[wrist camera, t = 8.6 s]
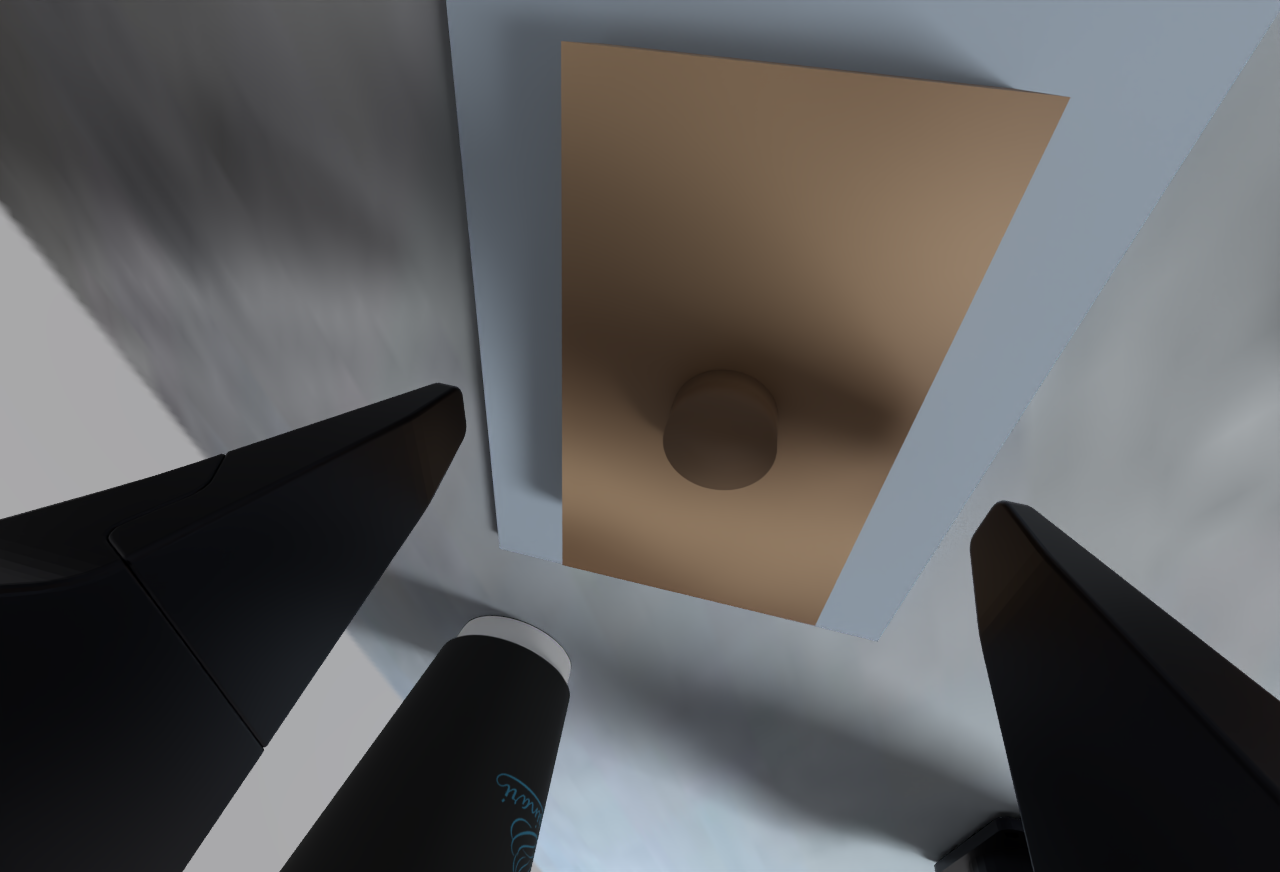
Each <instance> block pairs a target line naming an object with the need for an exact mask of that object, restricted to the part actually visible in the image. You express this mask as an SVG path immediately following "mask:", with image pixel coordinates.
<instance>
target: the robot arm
mask: <svg viewBox="0 0 1280 872" xmlns="http://www.w3.org/2000/svg"><path fill="white" fill-rule="evenodd" d="M465 433H466V418H465V410H464V402H463V395H462V392H461V390H460V389H459V388H458V387H456V386H452V385H447V384H442V383H434V384H431V385H428V386H425V387H422V388H419V389H416V390H413V391H410V392H407V393H404V394H401V395H398V396H395V397H392V398H389V399H386V400H383V401H380V402H377V403H374V404H371V405H368V406H365V407H362V408H359V409H356V410H353V411H350V412H347V413H344V414H341V415H338V416H335V417H332V418H329V419H326V420H323V421H320V422H317V423H314V424H311V425H308V426H305V427H302V428H299V429H296V430H293V431H290V432H287V433H284V434H281V435H278V436H275V437H272V438H269V439H266V440H263V441H260V442H257V443H254V444H251V445H247V446H244V447H241V448H238V449H235V450H232V451H229V452H228V453H227V454H226V455H224V454H220V455H217V456H214V457H211V458H208V459H205V460H202V461H199V462H196V463H193V464H190V465H187V466H184V467H180V468H177V469H174V470H171V471H168V472H165V473H161V474H158V475H155V476H152V477H149V478H145V479H142V480H138V481H135V482H131V483H128V484H124V485H121V486H118V487H114V488H111V489H107V490H104V491H100V492H96V493H93V494H89V495H86V496H83V497H79V498H75V499H71V500H68V501H64V502H61V503H57V504H54V505H50V506H47V507H43V508H39V509H36V510H32V511H29V512H25V513H21V514H18V515H14V516H11V517H7V518H4V519H0V872H182V871H183V870H184V869H185V867H186V866H187V864H188V863H189V861H190V860H191V858H192V856H193V855H194V854H195V852H196V851H197V849H198V848H199V846H200V845H201V843H202V842H203V840H204V838H205V837H206V836H207V835H208V833H209V832H210V830H211V828H212V827H213V825H214V824H215V823H216V821H217V820H218V818H219V817H220V815H221V814H222V812H223V811H224V809H225V808H226V806H227V805H228V803H229V802H230V800H231V799H232V797H233V796H234V794H235V793H236V792H237V790H238V788H239V787H240V786H241V784H242V782H243V781H244V780H245V778H246V777H247V775H248V774H249V772H250V771H251V769H252V768H253V766H254V765H255V763H256V762H257V760H258V759H259V757H260V756H261V754H262V753H263V751H264V749H263V747H266V746H267V745H268V743H269V742H270V740H271V739H272V737H273V736H274V734H275V733H276V731H277V730H278V728H279V727H280V725H281V724H282V723H283V721H284V720H285V718H286V717H287V715H288V714H289V712H290V711H291V709H292V708H293V706H294V705H295V703H296V702H297V700H298V699H299V697H300V696H301V694H302V693H303V691H304V690H305V688H306V687H307V685H308V684H309V682H310V681H311V680H312V678H313V676H314V675H315V673H316V672H317V671H318V669H319V668H320V666H321V665H322V663H323V662H324V660H325V659H326V657H327V656H328V654H329V653H330V651H331V650H332V648H333V647H334V645H335V644H336V642H337V641H338V640H339V638H340V637H341V635H342V634H343V632H344V631H345V629H346V628H347V626H348V625H349V623H350V622H351V620H352V619H353V617H354V616H355V614H356V613H357V611H358V610H359V608H360V607H361V605H362V604H363V602H364V601H365V599H366V598H367V596H368V595H369V594H370V592H371V591H372V589H373V588H374V586H375V585H376V583H377V582H378V580H379V579H380V577H381V576H382V574H383V573H384V571H385V570H386V568H387V567H388V565H389V564H390V562H391V561H392V559H393V558H394V556H395V555H396V553H397V552H398V550H399V549H400V548H401V546H402V545H403V543H404V542H405V540H406V539H407V537H408V536H409V534H410V533H411V531H412V530H413V528H414V527H415V525H416V524H417V522H418V521H419V519H420V518H421V516H422V515H423V513H424V512H425V510H426V509H427V507H428V505H429V504H430V502H431V500H432V498H433V497H434V495H435V493H436V491H437V489H438V487H439V485H440V483H441V481H442V479H443V477H444V476H445V474H446V472H447V470H448V468H449V466H450V464H451V462H452V460H453V458H454V456H455V454H456V452H457V450H458V448H459V447H460V445H461V443H462V441H463V439H464V436H465ZM970 556H971V566H972V575H973V585H974V594H975V603H976V613H977V622H978V629H979V636H980V641H981V646H982V651H983V655H984V660H985V664H986V668H987V672H988V677H989V681H990V685H991V690H992V694H993V698H994V703H995V707H996V711H997V716H998V720H999V724H1000V729H1001V733H1002V737H1003V741H1004V746H1005V750H1006V754H1007V759H1008V763H1009V767H1010V772H1011V776H1012V780H1013V785H1014V789H1015V793H1016V798H1017V802H1018V806H1019V811H1020V815H1021V819H1022V820H1019V819H1016V818H1011V817H1001V818H997V819H995V820H994V821H992V822H991V823H990V824H988V825H987V826H986V827H984V828H983V829H981V830H980V831H979V832H977V833H976V834H975V835H973V836H972V837H971V838H969V839H968V840H967V841H965V842H964V843H963V844H961V845H960V846H959V847H957V848H956V849H954V850H953V851H952V852H950V853H949V854H948V855H946V856H945V857H944V858H942V859H941V860H940V861H938V862H937V863H936V864H935V865H934V867H935V872H1280V701H1279V700H1278V699H1277V698H1275V697H1274V696H1273V695H1271V694H1270V693H1269V692H1268V691H1266V690H1265V689H1264V688H1262V687H1261V686H1260V685H1259V684H1257V683H1256V682H1255V681H1253V680H1252V679H1251V678H1250V677H1248V676H1247V675H1246V674H1245V673H1243V672H1242V671H1241V670H1239V669H1238V668H1237V667H1236V666H1234V665H1233V664H1232V663H1230V662H1229V661H1228V660H1227V659H1225V658H1224V657H1223V656H1221V655H1220V654H1219V653H1218V652H1216V651H1215V650H1214V649H1212V648H1211V647H1210V646H1209V645H1207V644H1206V643H1205V642H1204V641H1202V640H1201V639H1200V638H1198V637H1197V636H1196V635H1195V634H1193V633H1192V632H1191V631H1189V630H1188V629H1187V628H1186V627H1184V626H1183V625H1182V624H1181V623H1179V622H1178V621H1177V620H1175V619H1174V618H1173V617H1172V616H1170V615H1169V614H1168V613H1166V612H1165V611H1164V610H1163V609H1161V608H1160V607H1159V606H1157V605H1156V604H1155V603H1154V602H1152V601H1151V600H1150V599H1149V598H1147V597H1146V596H1145V595H1143V594H1142V593H1141V592H1140V591H1138V590H1137V589H1136V588H1134V587H1133V586H1132V585H1131V584H1129V583H1128V582H1127V581H1126V580H1124V579H1123V578H1122V577H1120V576H1119V575H1118V574H1117V573H1115V572H1114V571H1113V570H1111V569H1110V568H1109V567H1108V566H1106V565H1105V564H1104V563H1102V562H1101V561H1100V560H1099V559H1097V558H1096V557H1095V556H1094V555H1092V554H1091V553H1090V552H1088V551H1087V550H1086V549H1085V548H1083V547H1082V546H1081V545H1079V544H1078V543H1077V542H1076V541H1074V540H1073V539H1072V538H1070V537H1069V536H1068V535H1067V534H1065V533H1064V532H1063V531H1062V530H1060V529H1059V528H1058V527H1056V526H1055V525H1054V524H1053V523H1051V522H1050V521H1049V520H1047V519H1046V518H1045V517H1044V516H1042V515H1041V514H1040V513H1039V512H1037V511H1036V510H1035V509H1033V508H1032V507H1030V506H1028V505H1024V504H1019V503H1014V502H1009V501H999V502H997V503H996V504H994V506H993V507H992V508H991V510H990V511H989V513H988V514H987V515H986V517H985V518H984V520H983V521H982V523H981V524H980V526H979V527H978V529H977V530H976V532H975V533H974V535H973V537H972V539H971V543H970Z"/></svg>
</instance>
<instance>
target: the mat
mask: <svg viewBox="0 0 1280 872" xmlns="http://www.w3.org/2000/svg"><path fill="white" fill-rule="evenodd" d="M446 6H447V16H448V26H449V37H450V47H451V57H452V67H453V77H454V88H455V98H456V108H457V118H458V129H459V139H460V149H461V159H462V169H463V180H464V190H465V200H466V210H467V221H468V231H469V241H470V251H471V261H472V272H473V282H474V292H475V302H476V313H477V323H478V333H479V343H480V353H481V364H482V374H483V384H484V394H485V405H486V415H487V425H488V435H489V445H490V456H491V466H492V476H493V486H494V497H495V507H496V517H497V527H498V537H499V548H500V549H503V550H507V551H511V552H516V553H520V554H524V555H528V556H532V557H536V558H540V559H544V560H548V561H552V562H556V563H560V564H562V212H561V41H569V42H587V43H603V44H612V45H621V46H630V47H639V48H648V49H657V50H667V51H676V52H685V53H694V54H703V55H712V56H721V57H730V58H739V59H749V60H758V61H767V62H776V63H785V64H794V65H803V66H812V67H821V68H831V69H840V70H849V71H858V72H867V73H876V74H885V75H894V76H903V77H913V78H922V79H931V80H940V81H949V82H958V83H967V84H976V85H985V86H995V87H1004V88H1013V89H1020V90H1026V91H1033V92H1040V93H1046V94H1053V95H1059V96H1066V97H1071V98H1070V100H1069V102H1068V104H1067V106H1066V108H1065V110H1064V112H1063V114H1062V116H1061V118H1060V120H1059V122H1058V125H1057V127H1056V129H1055V131H1054V133H1053V135H1052V137H1051V139H1050V141H1049V143H1048V145H1047V147H1046V149H1045V151H1044V154H1043V156H1042V158H1041V160H1040V162H1039V164H1038V166H1037V168H1036V170H1035V172H1034V174H1033V176H1032V178H1031V180H1030V182H1029V185H1028V187H1027V189H1026V191H1025V193H1024V195H1023V197H1022V199H1021V201H1020V203H1019V205H1018V207H1017V209H1016V211H1015V213H1014V216H1013V218H1012V220H1011V222H1010V224H1009V226H1008V228H1007V230H1006V232H1005V234H1004V236H1003V238H1002V240H1001V242H1000V244H999V247H998V249H997V251H996V253H995V255H994V257H993V259H992V261H991V263H990V265H989V267H988V269H987V271H986V273H985V275H984V278H983V280H982V282H981V284H980V286H979V288H978V290H977V292H976V294H975V296H974V298H973V300H972V302H971V304H970V306H969V309H968V311H967V313H966V315H965V317H964V319H963V321H962V323H961V325H960V327H959V329H958V331H957V333H956V335H955V338H954V340H953V342H952V344H951V346H950V348H949V350H948V352H947V354H946V356H945V358H944V360H943V362H942V364H941V366H940V369H939V371H938V373H937V375H936V377H935V379H934V381H933V383H932V385H931V387H930V389H929V391H928V393H927V395H926V397H925V400H924V402H923V404H922V406H921V408H920V410H919V412H918V414H917V416H916V418H915V420H914V422H913V424H912V426H911V428H910V431H909V433H908V435H907V437H906V439H905V441H904V443H903V445H902V447H901V449H900V451H899V453H898V455H897V457H896V459H895V462H894V464H893V466H892V468H891V470H890V472H889V474H888V476H887V478H886V480H885V482H884V484H883V486H882V488H881V490H880V493H879V495H878V497H877V499H876V501H875V503H874V505H873V507H872V509H871V511H870V513H869V515H868V517H867V519H866V521H865V524H864V526H863V528H862V530H861V532H860V534H859V536H858V538H857V540H856V542H855V544H854V546H853V548H852V550H851V553H850V555H849V557H848V559H847V561H846V563H845V565H844V567H843V569H842V571H841V573H840V575H839V577H838V579H837V581H836V584H835V586H834V588H833V590H832V592H831V594H830V596H829V598H828V600H827V602H826V604H825V606H824V608H823V610H822V612H821V615H820V617H819V619H818V621H817V623H816V625H815V626H816V627H820V628H825V629H829V630H833V631H837V632H841V633H845V634H849V635H853V636H857V637H861V638H865V639H869V640H873V641H877V642H878V640H879V638H880V637H881V635H882V634H883V632H884V631H885V629H886V627H887V626H888V624H889V623H890V621H891V620H892V618H893V616H894V615H895V613H896V612H897V610H898V609H899V607H900V605H901V604H902V602H903V601H904V599H905V598H906V596H907V594H908V593H909V591H910V590H911V588H912V587H913V585H914V583H915V582H916V580H917V579H918V577H919V576H920V574H921V573H922V571H923V569H924V568H925V566H926V565H927V563H928V562H929V560H930V558H931V557H932V555H933V554H934V552H935V551H936V549H937V547H938V546H939V544H940V543H941V541H942V540H943V538H944V536H945V535H946V533H947V532H948V530H949V529H950V527H951V525H952V524H953V522H954V521H955V519H956V518H957V516H958V514H959V513H960V511H961V510H962V508H963V507H964V505H965V504H966V502H967V500H968V499H969V497H970V496H971V494H972V493H973V491H974V489H975V488H976V486H977V485H978V483H979V482H980V480H981V478H982V477H983V475H984V474H985V472H986V471H987V469H988V467H989V466H990V464H991V463H992V461H993V460H994V458H995V456H996V455H997V453H998V452H999V450H1000V449H1001V447H1002V445H1003V444H1004V442H1005V441H1006V439H1007V438H1008V436H1009V435H1010V433H1011V431H1012V430H1013V428H1014V427H1015V425H1016V424H1017V422H1018V420H1019V419H1020V417H1021V416H1022V414H1023V413H1024V411H1025V409H1026V408H1027V406H1028V405H1029V403H1030V402H1031V400H1032V398H1033V397H1034V395H1035V394H1036V392H1037V391H1038V389H1039V387H1040V386H1041V384H1042V383H1043V381H1044V380H1045V378H1046V376H1047V375H1048V373H1049V372H1050V370H1051V369H1052V367H1053V366H1054V364H1055V362H1056V361H1057V359H1058V358H1059V356H1060V355H1061V353H1062V351H1063V350H1064V348H1065V347H1066V345H1067V344H1068V342H1069V340H1070V339H1071V337H1072V336H1073V334H1074V333H1075V331H1076V329H1077V328H1078V326H1079V325H1080V323H1081V322H1082V320H1083V318H1084V317H1085V315H1086V314H1087V312H1088V311H1089V309H1090V307H1091V306H1092V304H1093V303H1094V301H1095V300H1096V298H1097V297H1098V295H1099V293H1100V292H1101V290H1102V289H1103V287H1104V286H1105V284H1106V282H1107V281H1108V279H1109V278H1110V276H1111V275H1112V273H1113V271H1114V270H1115V268H1116V267H1117V265H1118V264H1119V262H1120V260H1121V259H1122V257H1123V256H1124V254H1125V253H1126V251H1127V249H1128V248H1129V246H1130V245H1131V243H1132V242H1133V240H1134V238H1135V237H1136V235H1137V234H1138V232H1139V231H1140V229H1141V228H1142V226H1143V224H1144V223H1145V221H1146V220H1147V218H1148V217H1149V215H1150V213H1151V212H1152V210H1153V209H1154V207H1155V206H1156V204H1157V202H1158V201H1159V199H1160V198H1161V196H1162V195H1163V193H1164V191H1165V190H1166V188H1167V187H1168V185H1169V184H1170V182H1171V180H1172V179H1173V177H1174V176H1175V174H1176V173H1177V171H1178V169H1179V168H1180V166H1181V165H1182V163H1183V162H1184V160H1185V159H1186V157H1187V155H1188V154H1189V152H1190V151H1191V149H1192V148H1193V146H1194V144H1195V143H1196V141H1197V140H1198V138H1199V137H1200V135H1201V133H1202V132H1203V130H1204V129H1205V127H1206V126H1207V124H1208V122H1209V121H1210V119H1211V118H1212V116H1213V115H1214V113H1215V111H1216V110H1217V108H1218V107H1219V105H1220V104H1221V102H1222V100H1223V99H1224V97H1225V96H1226V94H1227V93H1228V91H1229V90H1230V88H1231V86H1232V85H1233V83H1234V82H1235V80H1236V79H1237V77H1238V75H1239V74H1240V72H1241V71H1242V69H1243V68H1244V66H1245V64H1246V63H1247V61H1248V60H1249V58H1250V57H1251V55H1252V53H1253V52H1254V50H1255V49H1256V47H1257V46H1258V44H1259V42H1260V41H1261V39H1262V38H1263V36H1264V35H1265V33H1266V32H1267V30H1268V28H1269V27H1270V25H1271V24H1272V22H1273V21H1274V19H1275V17H1276V16H1277V14H1278V13H1279V11H1280V0H446ZM755 612H756V611H755ZM784 619H785V618H784ZM788 620H789V619H788ZM792 621H793V620H792ZM796 622H797V621H796ZM800 623H801V622H800ZM804 624H805V623H804ZM808 625H809V624H808ZM812 626H814V625H812Z"/></svg>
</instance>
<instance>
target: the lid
mask: <svg viewBox="0 0 1280 872" xmlns="http://www.w3.org/2000/svg"><path fill="white" fill-rule="evenodd" d="M1070 98H1071V97H1066V96H1059V95H1053V94H1046V93H1040V92H1033V91H1026V90H1020V89H1013V88H1004V87H995V86H985V85H976V84H967V83H958V82H949V81H940V80H931V79H922V78H913V77H903V76H894V75H885V74H876V73H867V72H858V71H849V70H840V69H831V68H821V67H812V66H803V65H794V64H785V63H776V62H767V61H758V60H749V59H739V58H730V57H721V56H712V55H703V54H694V53H685V52H676V51H667V50H657V49H648V48H639V47H630V46H621V45H612V44H603V43H587V42H569V41H561V212H562V565H565V566H569V567H573V568H577V569H581V570H586V571H590V572H594V573H598V574H602V575H606V576H611V577H615V578H619V579H623V580H627V581H631V582H635V583H640V584H644V585H648V586H652V587H656V588H660V589H664V590H669V591H673V592H677V593H681V594H685V595H689V596H693V597H698V598H702V599H706V600H710V601H714V602H718V603H722V604H727V605H731V606H735V607H739V608H743V609H747V610H751V611H756V612H760V613H764V614H768V615H772V616H776V617H780V618H785V619H789V620H793V621H797V622H801V623H805V624H809V625H814V626H815V625H816V623H817V621H818V619H819V617H820V615H821V612H822V610H823V608H824V606H825V604H826V602H827V600H828V598H829V596H830V594H831V592H832V590H833V588H834V586H835V584H836V581H837V579H838V577H839V575H840V573H841V571H842V569H843V567H844V565H845V563H846V561H847V559H848V557H849V555H850V553H851V550H852V548H853V546H854V544H855V542H856V540H857V538H858V536H859V534H860V532H861V530H862V528H863V526H864V524H865V521H866V519H867V517H868V515H869V513H870V511H871V509H872V507H873V505H874V503H875V501H876V499H877V497H878V495H879V493H880V490H881V488H882V486H883V484H884V482H885V480H886V478H887V476H888V474H889V472H890V470H891V468H892V466H893V464H894V462H895V459H896V457H897V455H898V453H899V451H900V449H901V447H902V445H903V443H904V441H905V439H906V437H907V435H908V433H909V431H910V428H911V426H912V424H913V422H914V420H915V418H916V416H917V414H918V412H919V410H920V408H921V406H922V404H923V402H924V400H925V397H926V395H927V393H928V391H929V389H930V387H931V385H932V383H933V381H934V379H935V377H936V375H937V373H938V371H939V369H940V366H941V364H942V362H943V360H944V358H945V356H946V354H947V352H948V350H949V348H950V346H951V344H952V342H953V340H954V338H955V335H956V333H957V331H958V329H959V327H960V325H961V323H962V321H963V319H964V317H965V315H966V313H967V311H968V309H969V306H970V304H971V302H972V300H973V298H974V296H975V294H976V292H977V290H978V288H979V286H980V284H981V282H982V280H983V278H984V275H985V273H986V271H987V269H988V267H989V265H990V263H991V261H992V259H993V257H994V255H995V253H996V251H997V249H998V247H999V244H1000V242H1001V240H1002V238H1003V236H1004V234H1005V232H1006V230H1007V228H1008V226H1009V224H1010V222H1011V220H1012V218H1013V216H1014V213H1015V211H1016V209H1017V207H1018V205H1019V203H1020V201H1021V199H1022V197H1023V195H1024V193H1025V191H1026V189H1027V187H1028V185H1029V182H1030V180H1031V178H1032V176H1033V174H1034V172H1035V170H1036V168H1037V166H1038V164H1039V162H1040V160H1041V158H1042V156H1043V154H1044V151H1045V149H1046V147H1047V145H1048V143H1049V141H1050V139H1051V137H1052V135H1053V133H1054V131H1055V129H1056V127H1057V125H1058V122H1059V120H1060V118H1061V116H1062V114H1063V112H1064V110H1065V108H1066V106H1067V104H1068V102H1069V100H1070Z"/></svg>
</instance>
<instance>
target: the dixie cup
mask: <svg viewBox="0 0 1280 872" xmlns="http://www.w3.org/2000/svg"><path fill="white" fill-rule="evenodd" d="M570 671H571V664H570V660H569V658H568V656H567V654H566V652H565V651H564V649H563V648H562V647H561V646H560V645H559V644H558V643H557V642H556V641H555V640H554V639H552V638H551V637H550V636H549V635H547V634H546V633H544V632H542V631H541V630H539V629H537V628H535V627H533V626H531V625H529V624H526V623H524V622H521V621H518V620H515V619H511V618H506V617H500V616H484V617H479V618H475V619H473V620H471V621H469V622H468V623H467V624H466V625H465V626H464V628H463V629H462V630H461V632H460V633H459V635H458V636H457V637H456V638H454V639H452V640H450V641H448V642H447V643H446V644H445V645H444V646H443V648H442V649H441V650H440V652H439V653H438V654H437V656H436V657H435V659H434V660H433V661H432V663H431V664H430V665H429V667H428V668H427V670H426V671H425V672H424V674H423V675H422V676H421V678H420V679H419V681H418V682H417V683H416V685H415V686H414V687H413V689H412V690H411V692H410V693H409V694H408V696H407V697H406V698H405V700H404V701H403V703H402V704H401V705H400V707H399V708H398V710H397V711H396V712H395V714H394V715H393V716H392V718H391V719H390V720H389V722H388V723H387V725H386V726H385V728H384V729H383V730H382V732H381V733H380V734H379V736H378V737H377V738H376V740H375V741H374V743H373V744H372V745H371V747H370V748H369V749H368V751H367V752H366V754H365V755H364V756H363V758H362V759H361V760H360V762H359V763H358V765H357V766H356V767H355V769H354V770H353V771H352V773H351V774H350V776H349V777H348V778H347V780H346V781H345V782H344V784H343V785H342V787H341V788H340V789H339V791H338V792H337V793H336V795H335V796H334V798H333V799H332V801H331V802H330V803H329V805H328V806H327V807H326V809H325V810H324V811H323V813H322V814H321V816H320V817H319V818H318V820H317V821H316V822H315V824H314V825H313V827H312V828H311V829H310V831H309V832H308V833H307V835H306V836H305V837H304V839H303V840H302V842H301V843H300V844H299V846H298V847H297V848H296V850H295V851H294V853H293V854H292V855H291V857H290V858H289V859H288V861H287V862H286V864H285V865H284V866H283V868H282V869H281V870H280V872H530V871H531V867H532V862H533V858H534V854H535V849H536V845H537V840H538V836H539V831H540V827H541V823H542V818H543V814H544V809H545V805H546V800H547V796H548V792H549V787H550V783H551V778H552V774H553V769H554V765H555V761H556V756H557V752H558V747H559V743H560V739H561V734H562V730H563V725H564V721H565V716H566V712H567V708H568V703H569V698H570V692H569V688H568V685H567V684H568V679H569V675H570Z"/></svg>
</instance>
